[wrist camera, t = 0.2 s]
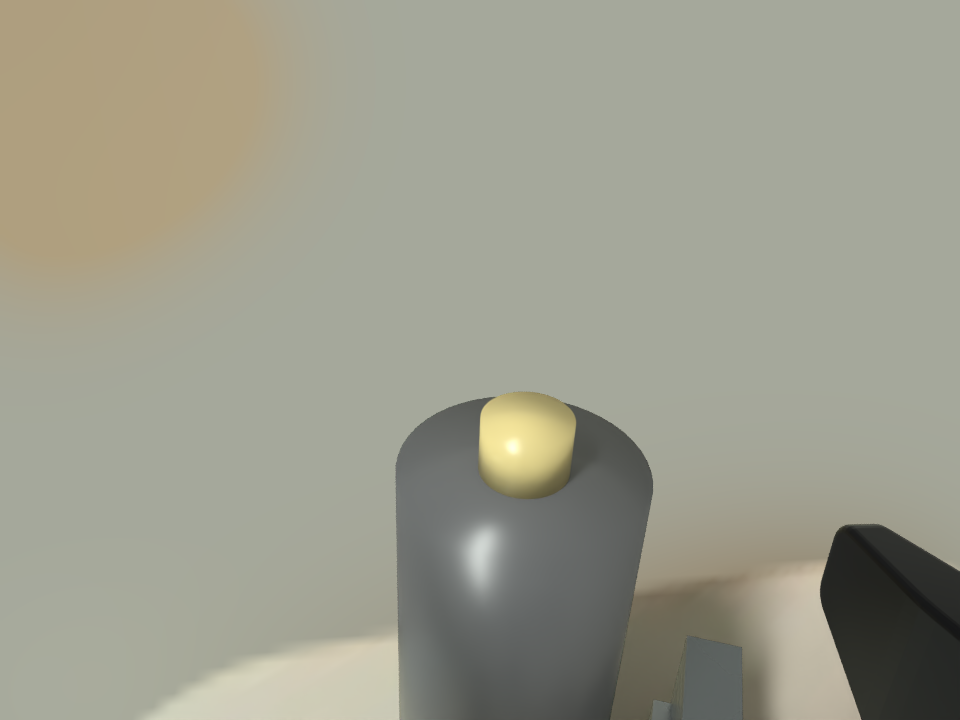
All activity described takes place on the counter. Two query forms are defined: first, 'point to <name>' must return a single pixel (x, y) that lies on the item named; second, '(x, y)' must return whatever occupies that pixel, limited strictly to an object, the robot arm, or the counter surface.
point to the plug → (516, 560)
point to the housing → (705, 684)
